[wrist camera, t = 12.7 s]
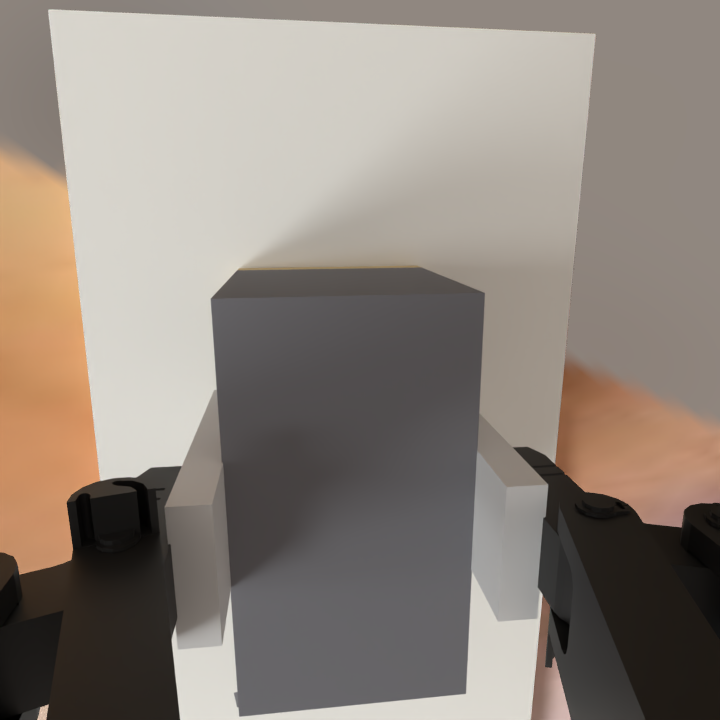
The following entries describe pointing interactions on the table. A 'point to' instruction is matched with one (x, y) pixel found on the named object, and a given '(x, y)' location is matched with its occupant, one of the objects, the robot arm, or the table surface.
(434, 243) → the board
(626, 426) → the table surface
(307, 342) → the block
